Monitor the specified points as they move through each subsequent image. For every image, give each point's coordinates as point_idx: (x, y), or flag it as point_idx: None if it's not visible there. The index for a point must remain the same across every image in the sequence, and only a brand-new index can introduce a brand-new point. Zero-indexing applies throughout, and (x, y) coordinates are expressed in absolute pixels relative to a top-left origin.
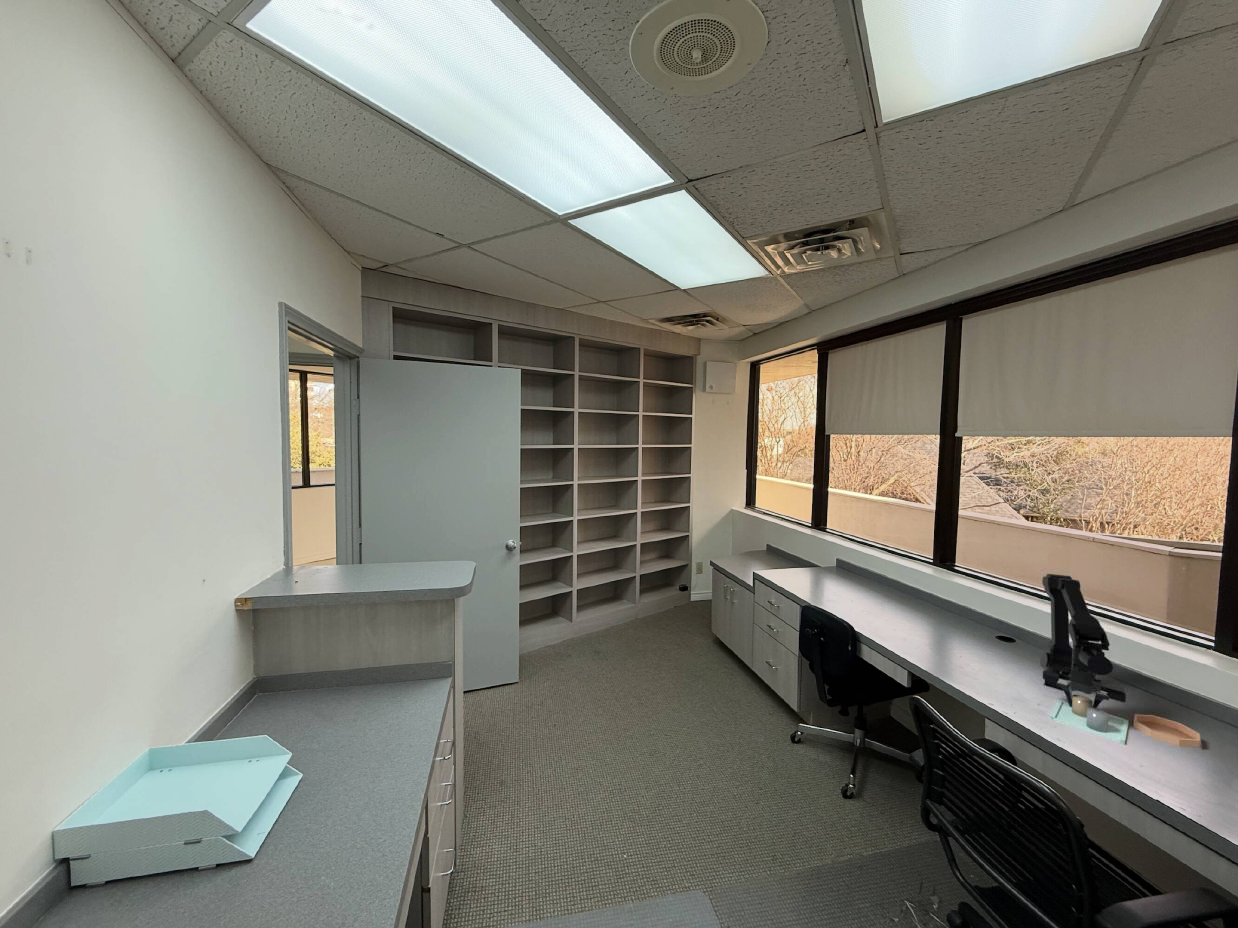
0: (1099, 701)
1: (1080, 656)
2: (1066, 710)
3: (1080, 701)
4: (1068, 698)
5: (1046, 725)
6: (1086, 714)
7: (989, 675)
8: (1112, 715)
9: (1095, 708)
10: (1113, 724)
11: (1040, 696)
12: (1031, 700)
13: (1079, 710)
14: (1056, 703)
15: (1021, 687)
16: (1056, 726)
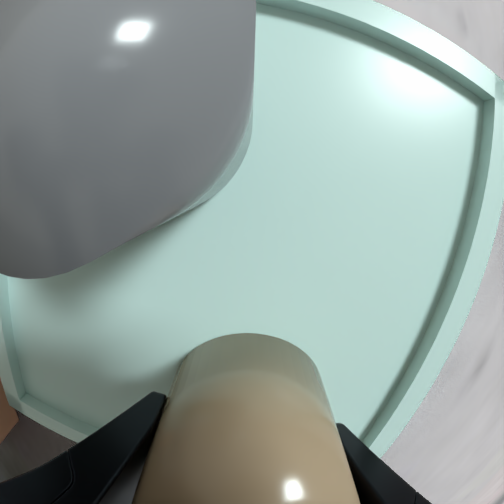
0: (11, 492)
1: None
2: (358, 383)
3: (295, 480)
4: (392, 480)
5: (490, 27)
6: (215, 356)
7: (494, 473)
8: (68, 436)
9: (30, 250)
10: (46, 323)
11: (411, 469)
12: (487, 389)
13: (285, 374)
14: (400, 430)
15: (445, 481)
16: (455, 28)
